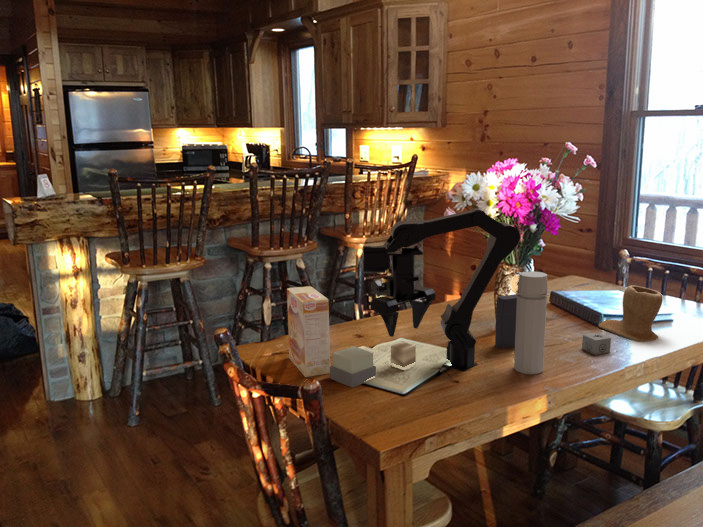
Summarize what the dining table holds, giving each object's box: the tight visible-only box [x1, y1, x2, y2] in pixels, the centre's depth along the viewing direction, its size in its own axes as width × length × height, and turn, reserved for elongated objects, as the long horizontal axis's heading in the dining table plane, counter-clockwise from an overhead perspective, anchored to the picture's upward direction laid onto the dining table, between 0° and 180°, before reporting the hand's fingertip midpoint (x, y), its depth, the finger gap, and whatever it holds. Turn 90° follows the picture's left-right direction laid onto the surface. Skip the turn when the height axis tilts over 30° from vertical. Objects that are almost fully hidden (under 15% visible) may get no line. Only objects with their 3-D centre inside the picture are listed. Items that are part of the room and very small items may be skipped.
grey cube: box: [581, 332, 612, 356], centre depth 172 cm, size 5×5×5 cm
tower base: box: [329, 365, 377, 388], centre depth 158 cm, size 8×8×4 cm
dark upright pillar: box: [494, 293, 518, 350], centre depth 177 cm, size 11×4×15 cm, turn 110°
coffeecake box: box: [286, 285, 331, 378], centre depth 165 cm, size 15×7×20 cm, turn 21°
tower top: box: [332, 345, 374, 374], centre depth 157 cm, size 7×7×4 cm
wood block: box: [390, 341, 417, 367], centre depth 164 cm, size 4×4×6 cm
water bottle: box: [513, 270, 550, 375], centre depth 159 cm, size 9×8×25 cm
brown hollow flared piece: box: [598, 285, 664, 343], centre depth 185 cm, size 15×12×15 cm
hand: (403, 332), depth 163 cm, fingers open, 9 cm apart
